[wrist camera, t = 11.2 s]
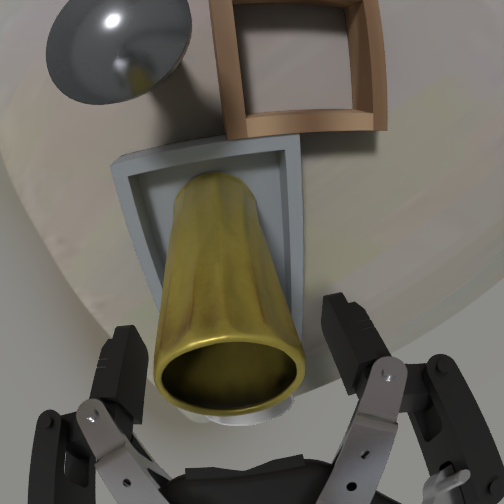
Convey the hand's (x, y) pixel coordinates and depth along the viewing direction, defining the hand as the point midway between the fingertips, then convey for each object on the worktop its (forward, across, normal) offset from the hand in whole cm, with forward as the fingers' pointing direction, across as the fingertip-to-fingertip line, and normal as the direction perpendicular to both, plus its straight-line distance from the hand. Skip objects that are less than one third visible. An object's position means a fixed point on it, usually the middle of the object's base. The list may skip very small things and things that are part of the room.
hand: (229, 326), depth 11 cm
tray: (+12, 0, +5) cm, 13 cm away
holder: (+12, -7, -11) cm, 18 cm away
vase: (+12, 0, 0) cm, 12 cm away
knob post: (+12, +3, -12) cm, 17 cm away
